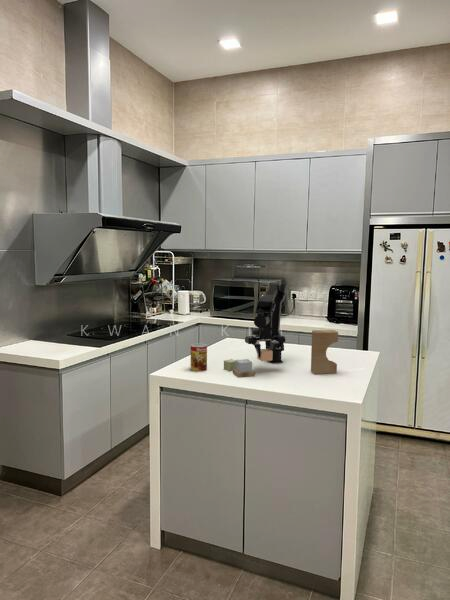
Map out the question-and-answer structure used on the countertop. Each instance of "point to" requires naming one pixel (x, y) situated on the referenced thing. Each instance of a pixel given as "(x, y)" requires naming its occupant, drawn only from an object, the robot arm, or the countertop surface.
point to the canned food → (198, 357)
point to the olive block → (229, 365)
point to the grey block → (243, 365)
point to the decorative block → (322, 351)
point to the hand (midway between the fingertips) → (264, 357)
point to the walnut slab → (243, 374)
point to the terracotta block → (265, 355)
